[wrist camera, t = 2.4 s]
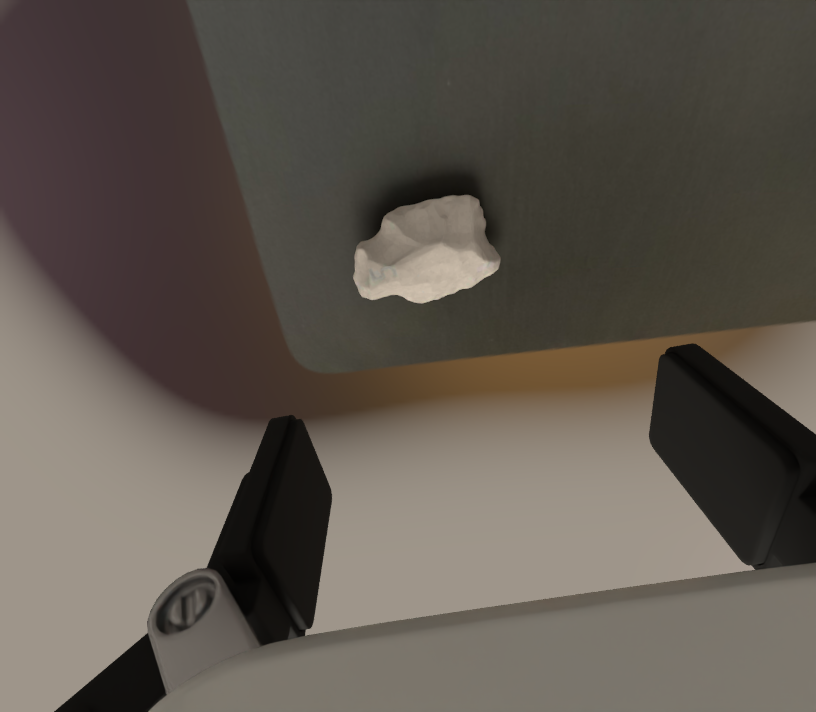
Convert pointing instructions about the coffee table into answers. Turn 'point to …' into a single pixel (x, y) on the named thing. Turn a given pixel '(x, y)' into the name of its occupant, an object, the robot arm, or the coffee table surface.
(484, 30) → the coffee table surface
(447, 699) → the robot arm
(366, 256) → the decorative stone
